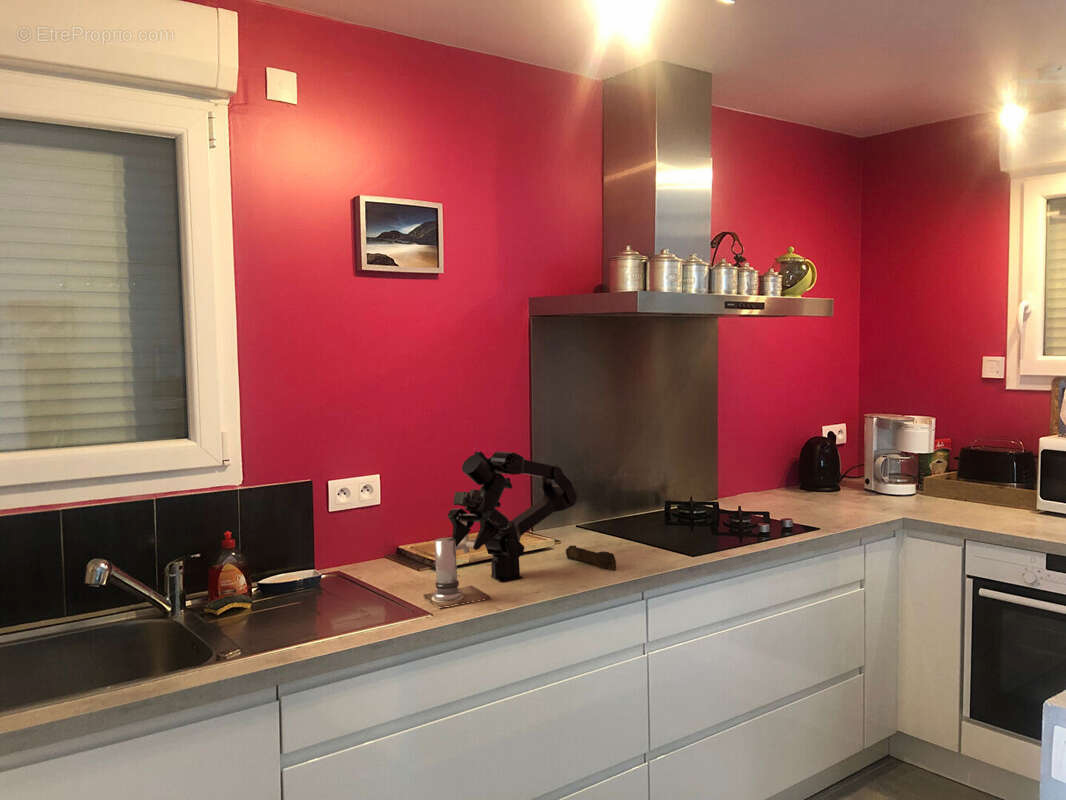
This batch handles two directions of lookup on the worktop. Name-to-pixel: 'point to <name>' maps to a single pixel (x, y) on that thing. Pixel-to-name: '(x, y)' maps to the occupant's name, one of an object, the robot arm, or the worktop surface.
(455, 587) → the silver flared cylinder
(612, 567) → the hand tool
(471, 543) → the pipe connector
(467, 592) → the walnut board
